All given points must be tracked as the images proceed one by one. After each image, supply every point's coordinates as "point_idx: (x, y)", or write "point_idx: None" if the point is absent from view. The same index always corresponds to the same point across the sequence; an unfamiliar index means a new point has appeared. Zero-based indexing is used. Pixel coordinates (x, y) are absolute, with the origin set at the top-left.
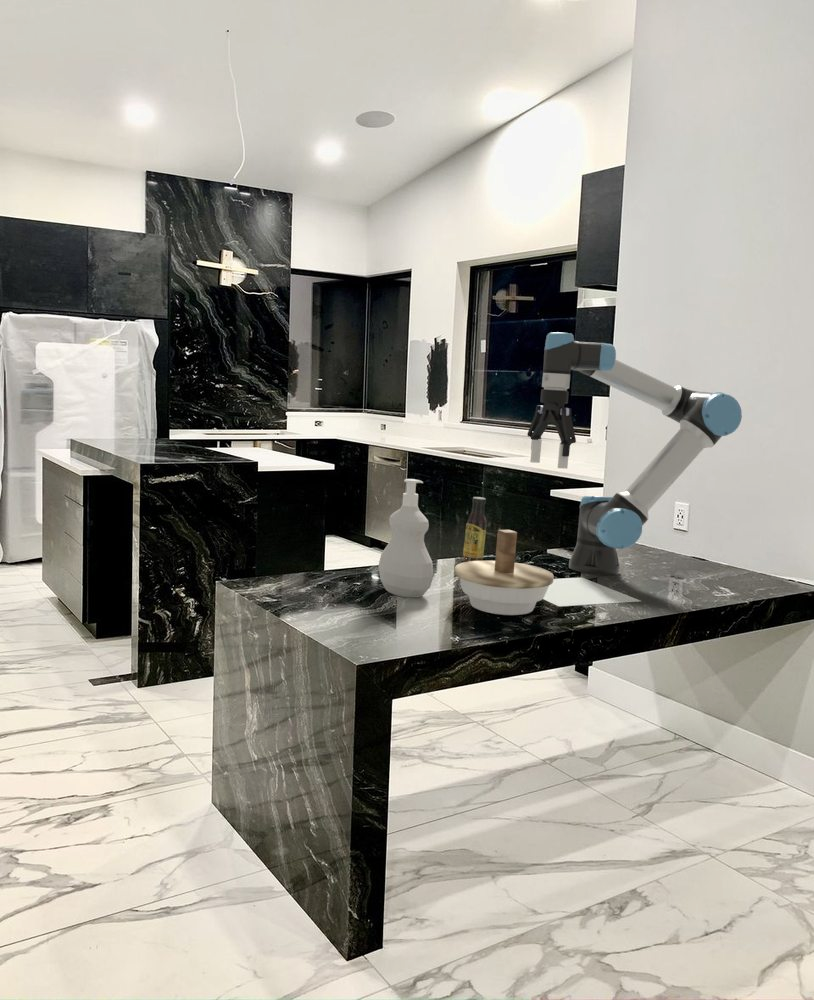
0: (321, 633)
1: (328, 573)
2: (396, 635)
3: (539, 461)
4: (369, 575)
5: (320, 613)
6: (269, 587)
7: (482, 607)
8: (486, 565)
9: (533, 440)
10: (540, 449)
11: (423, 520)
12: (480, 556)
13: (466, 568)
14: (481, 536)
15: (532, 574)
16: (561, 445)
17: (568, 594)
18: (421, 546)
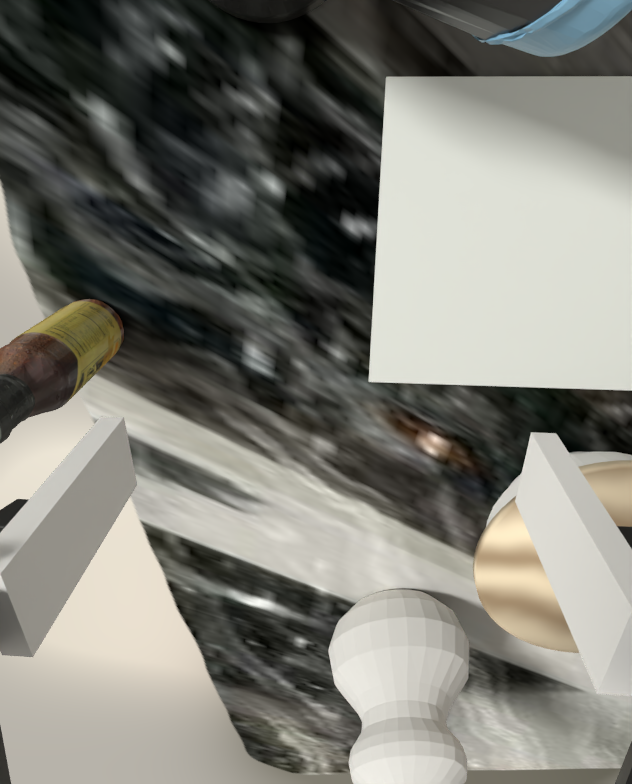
0: (554, 758)
1: (218, 654)
2: (613, 701)
3: (118, 424)
4: (241, 605)
5: (464, 733)
6: (302, 740)
7: None
8: (531, 575)
9: (32, 649)
10: (64, 494)
11: (462, 775)
12: (116, 325)
13: (539, 625)
14: (89, 355)
15: None
16: (627, 682)
17: (557, 290)
18: (446, 703)
